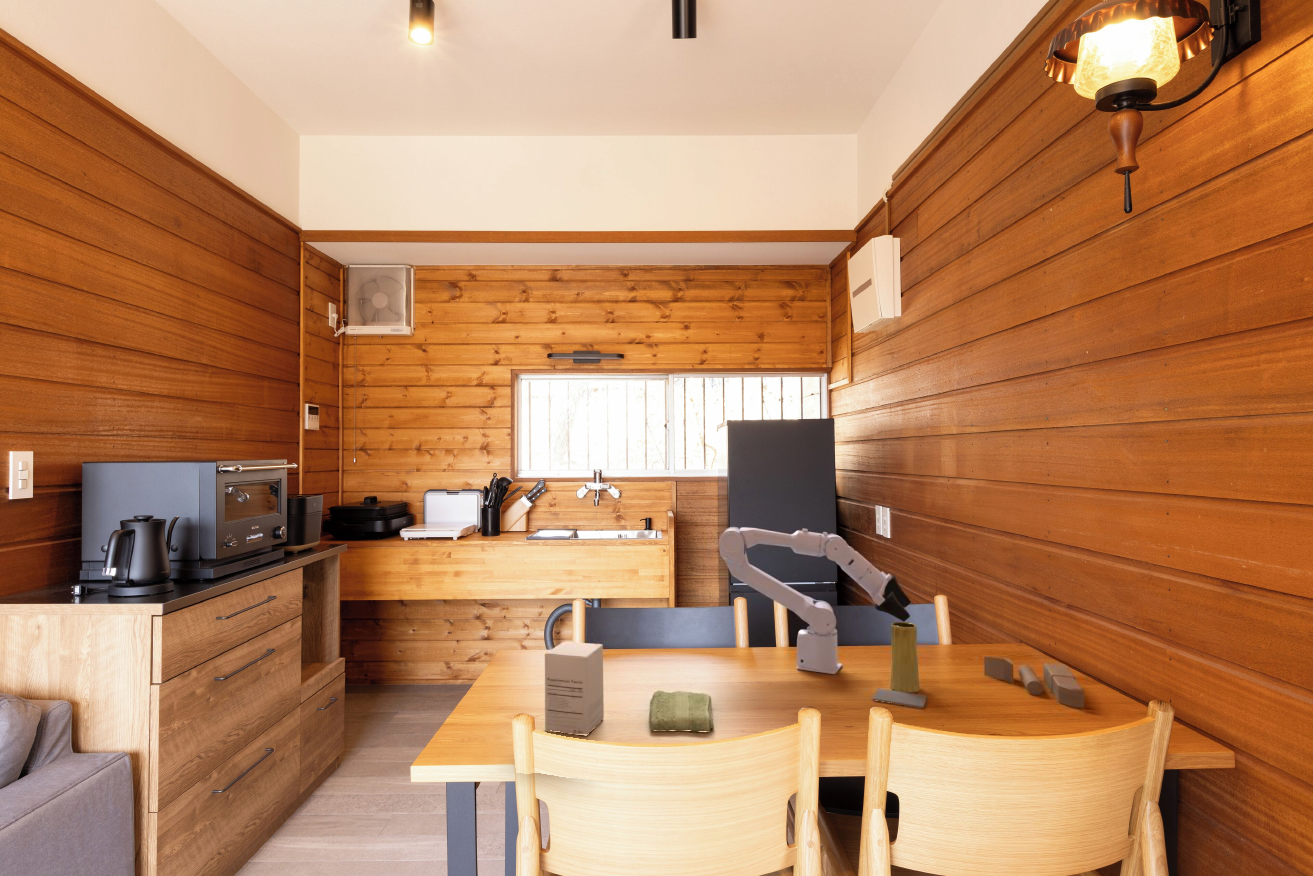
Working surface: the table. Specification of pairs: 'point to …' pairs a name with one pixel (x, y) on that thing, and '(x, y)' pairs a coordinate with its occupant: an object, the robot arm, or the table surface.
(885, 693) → the mat
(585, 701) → the supplement box
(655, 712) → the washcloth
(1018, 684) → the table surface
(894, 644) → the vase
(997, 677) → the wooden block set
